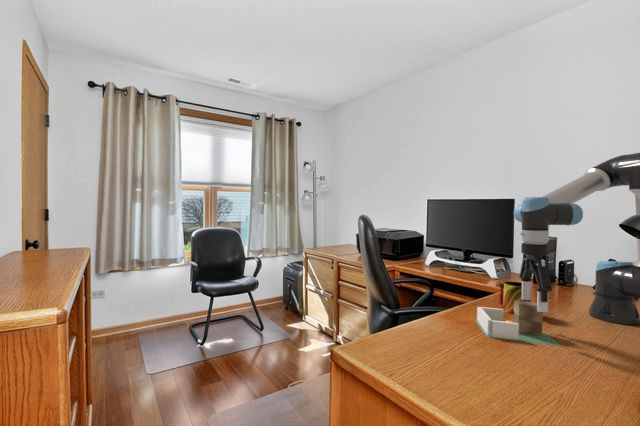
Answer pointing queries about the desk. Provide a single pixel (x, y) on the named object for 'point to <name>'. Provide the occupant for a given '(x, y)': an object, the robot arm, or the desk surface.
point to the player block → (528, 318)
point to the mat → (528, 337)
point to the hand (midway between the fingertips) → (533, 305)
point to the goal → (496, 323)
